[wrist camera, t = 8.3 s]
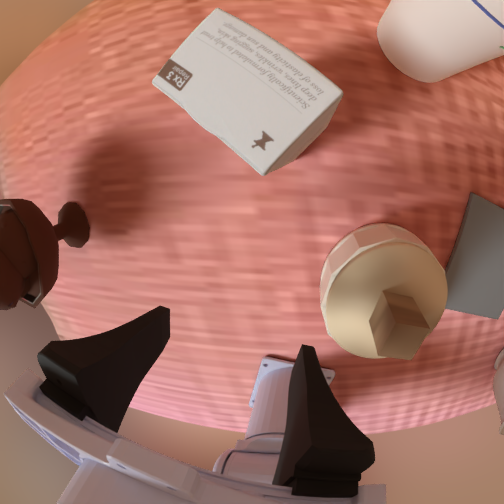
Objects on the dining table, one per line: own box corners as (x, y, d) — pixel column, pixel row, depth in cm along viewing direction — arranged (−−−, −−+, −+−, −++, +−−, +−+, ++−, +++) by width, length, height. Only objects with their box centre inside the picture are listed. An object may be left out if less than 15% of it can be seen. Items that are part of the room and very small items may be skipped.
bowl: (401, 334, 23) (411, 361, 19) (306, 316, 24) (305, 344, 21) (443, 240, 19) (465, 257, 15) (338, 208, 20) (345, 221, 17)
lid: (411, 357, 19) (424, 396, 15) (310, 341, 20) (308, 383, 16) (461, 259, 15) (491, 288, 11) (348, 226, 17) (361, 252, 12)
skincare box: (329, 125, 18) (360, 91, 7) (289, 165, 20) (267, 185, 9) (268, 74, 17) (221, -3, 6) (230, 114, 19) (144, 83, 8)
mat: (496, 317, 20) (497, 319, 20) (430, 302, 21) (432, 305, 21) (532, 227, 16) (535, 228, 15) (470, 192, 17) (473, 193, 16)
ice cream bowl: (88, 163, 23) (-39, 198, 9) (119, 263, 26) (16, 343, 13) (40, 194, 26) (-54, 232, 12) (67, 274, 29) (-15, 333, 16)
